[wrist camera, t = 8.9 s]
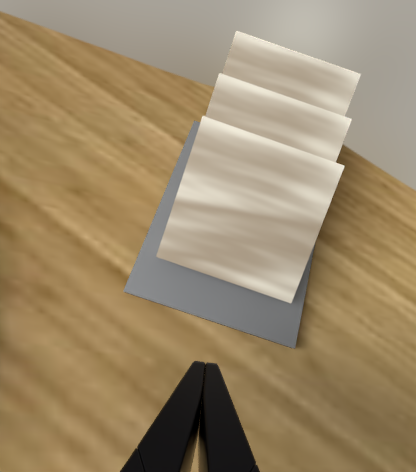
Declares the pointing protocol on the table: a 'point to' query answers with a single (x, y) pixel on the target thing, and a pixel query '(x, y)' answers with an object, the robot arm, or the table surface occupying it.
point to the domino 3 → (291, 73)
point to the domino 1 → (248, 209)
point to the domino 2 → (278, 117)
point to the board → (210, 281)
